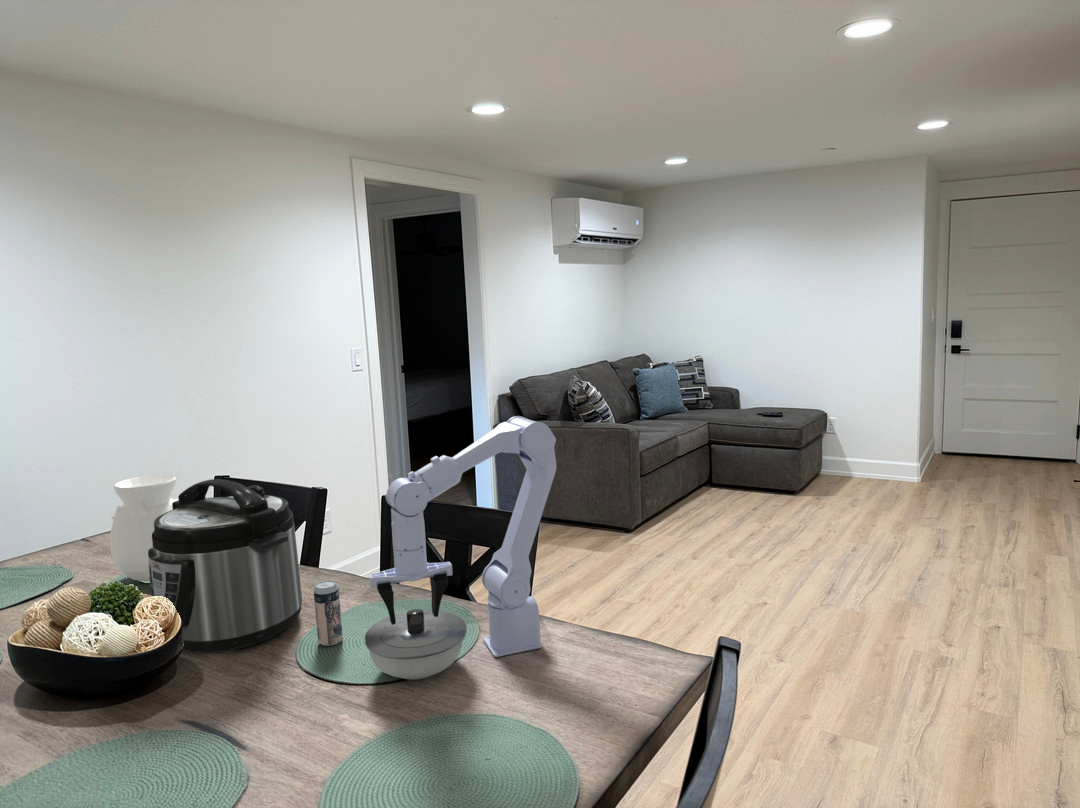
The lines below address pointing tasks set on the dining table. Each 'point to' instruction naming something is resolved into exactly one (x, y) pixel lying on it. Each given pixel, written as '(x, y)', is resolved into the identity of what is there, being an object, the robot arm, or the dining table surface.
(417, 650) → the lid
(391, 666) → the cereal bowl
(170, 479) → the pitcher
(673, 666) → the dining table surface
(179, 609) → the pressure cooker
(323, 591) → the beer can
